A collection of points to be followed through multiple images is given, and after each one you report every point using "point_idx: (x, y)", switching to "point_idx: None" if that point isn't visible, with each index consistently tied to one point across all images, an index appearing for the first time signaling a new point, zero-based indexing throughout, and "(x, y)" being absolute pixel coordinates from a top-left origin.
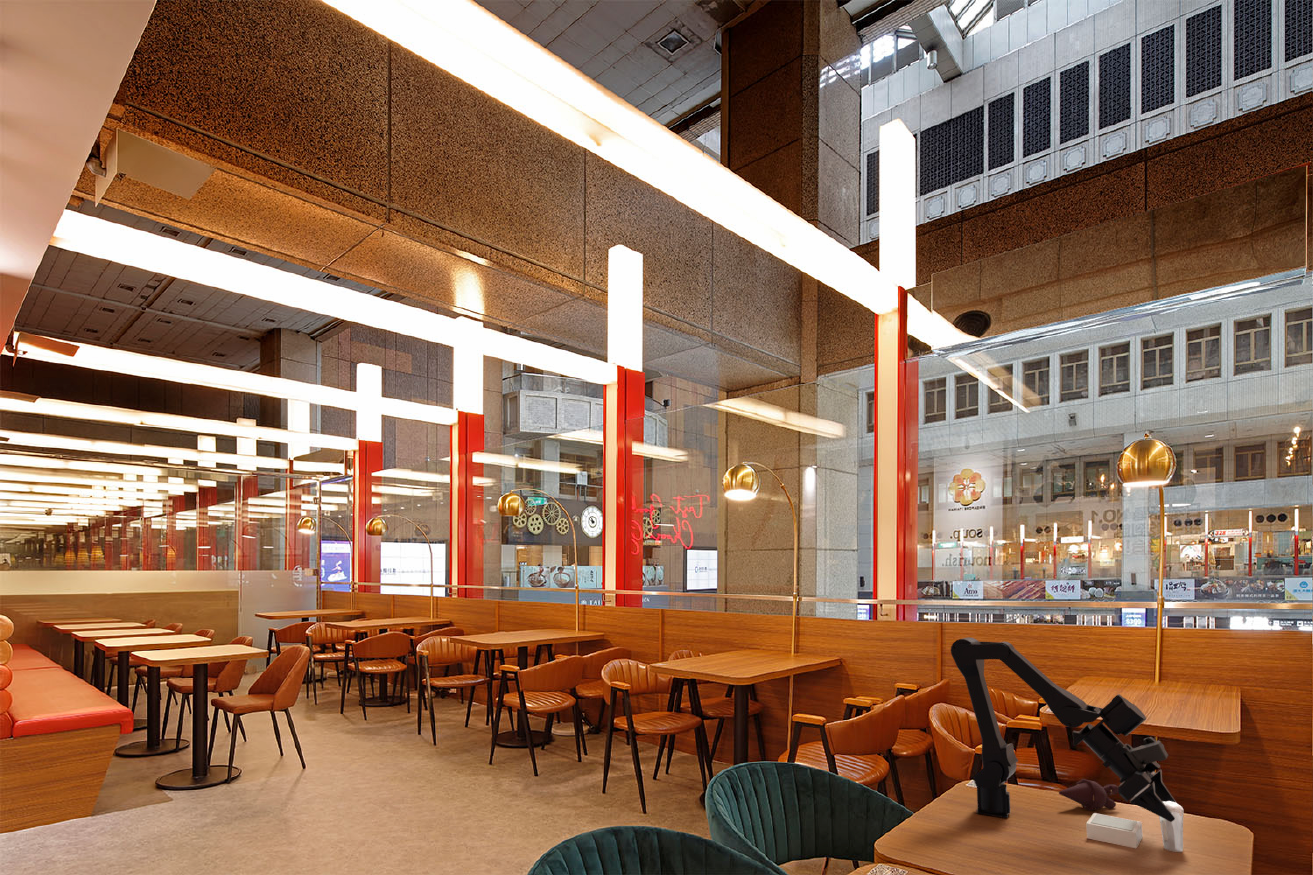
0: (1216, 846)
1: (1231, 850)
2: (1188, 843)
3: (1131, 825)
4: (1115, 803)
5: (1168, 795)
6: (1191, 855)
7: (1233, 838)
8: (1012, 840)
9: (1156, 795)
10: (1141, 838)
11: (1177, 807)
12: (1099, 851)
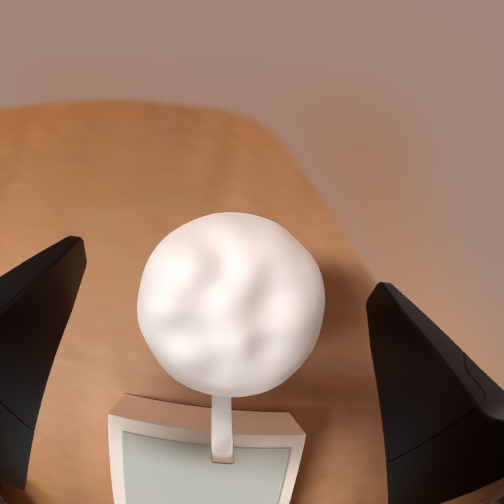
0: (98, 156)
1: (122, 121)
2: (106, 240)
3: (210, 455)
4: None
5: (30, 301)
6: None
7: (15, 122)
8: None
9: (490, 396)
10: (154, 400)
11: (300, 252)
12: (370, 474)
